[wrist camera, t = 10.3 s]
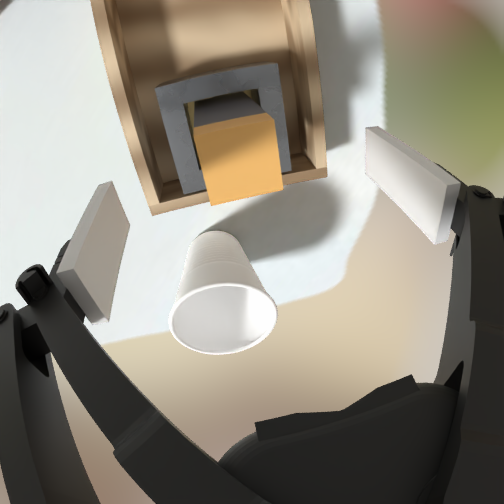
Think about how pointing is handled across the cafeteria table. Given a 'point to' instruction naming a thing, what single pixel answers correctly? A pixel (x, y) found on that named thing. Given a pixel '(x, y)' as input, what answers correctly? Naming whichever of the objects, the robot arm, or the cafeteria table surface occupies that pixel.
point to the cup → (220, 298)
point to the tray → (202, 60)
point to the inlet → (209, 86)
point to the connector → (236, 148)
